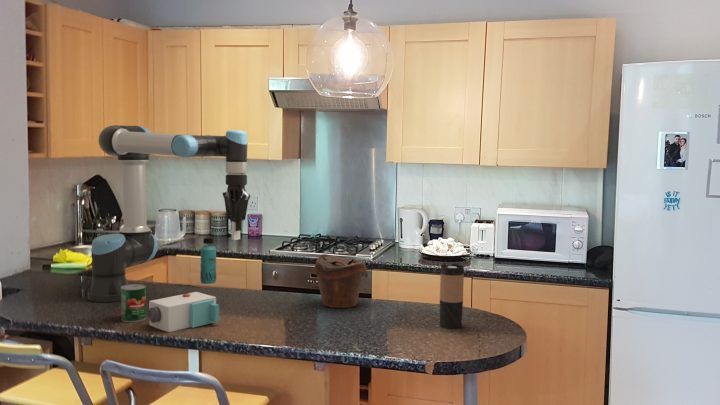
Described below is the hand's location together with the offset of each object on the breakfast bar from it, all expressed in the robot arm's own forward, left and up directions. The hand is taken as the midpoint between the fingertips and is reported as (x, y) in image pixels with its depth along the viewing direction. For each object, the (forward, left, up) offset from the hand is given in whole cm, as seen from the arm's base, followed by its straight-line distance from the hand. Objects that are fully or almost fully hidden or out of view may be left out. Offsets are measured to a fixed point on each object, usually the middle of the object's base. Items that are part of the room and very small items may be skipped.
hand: (235, 239), depth 232 cm
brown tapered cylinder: (+35, +15, -25) cm, 45 cm away
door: (+2, -27, -24) cm, 36 cm away
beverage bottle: (-25, +25, -25) cm, 43 cm away
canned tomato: (-24, -27, -25) cm, 44 cm away
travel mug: (+78, 0, -25) cm, 82 cm away
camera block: (-6, -26, -24) cm, 36 cm away
